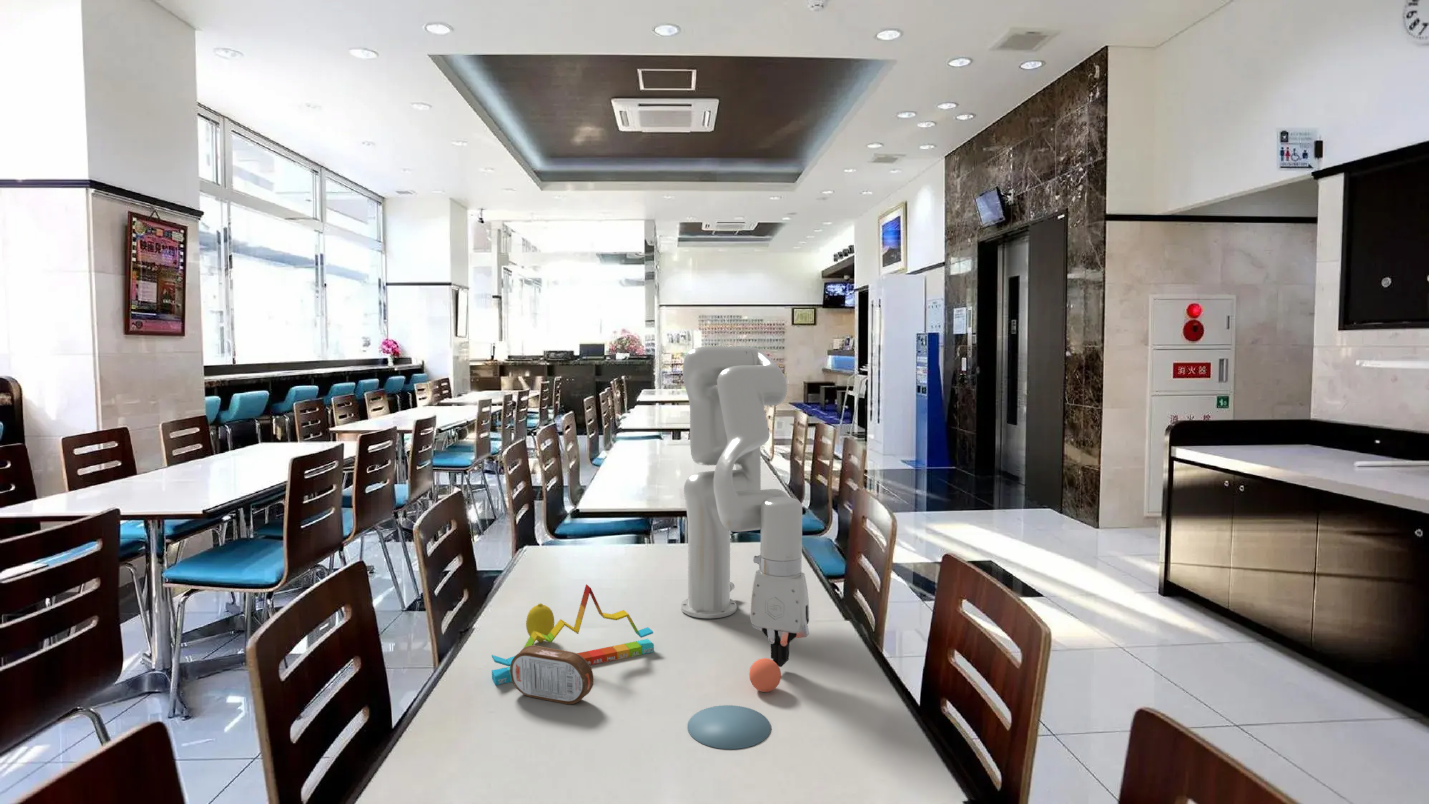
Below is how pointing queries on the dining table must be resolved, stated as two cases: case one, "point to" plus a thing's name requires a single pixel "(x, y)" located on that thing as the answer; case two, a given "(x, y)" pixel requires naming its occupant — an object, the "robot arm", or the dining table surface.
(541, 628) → the lemon
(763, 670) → the ball
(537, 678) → the tin
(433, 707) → the dining table surface
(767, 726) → the disc
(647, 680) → the dining table surface
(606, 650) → the chart
